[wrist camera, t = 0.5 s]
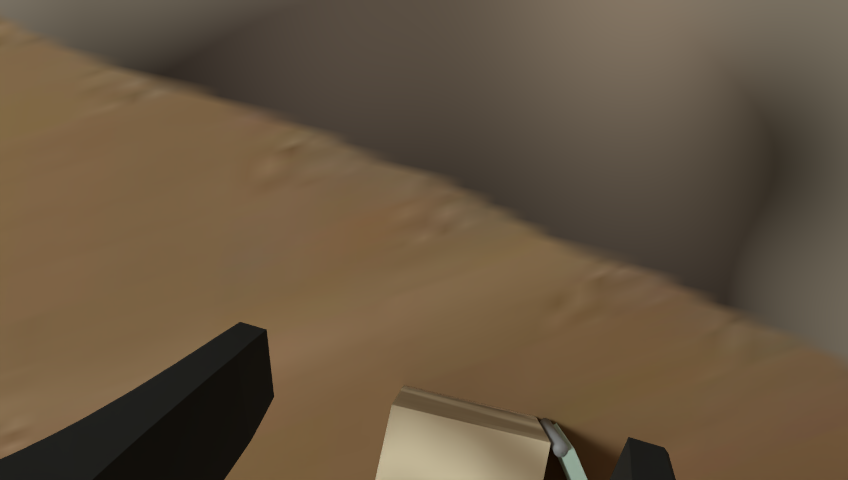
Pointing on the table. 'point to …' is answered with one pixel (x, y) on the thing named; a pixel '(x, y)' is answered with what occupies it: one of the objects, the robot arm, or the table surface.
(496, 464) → the cabinet
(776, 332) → the table surface
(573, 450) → the door
